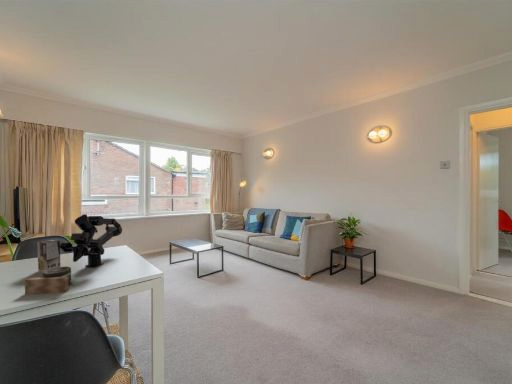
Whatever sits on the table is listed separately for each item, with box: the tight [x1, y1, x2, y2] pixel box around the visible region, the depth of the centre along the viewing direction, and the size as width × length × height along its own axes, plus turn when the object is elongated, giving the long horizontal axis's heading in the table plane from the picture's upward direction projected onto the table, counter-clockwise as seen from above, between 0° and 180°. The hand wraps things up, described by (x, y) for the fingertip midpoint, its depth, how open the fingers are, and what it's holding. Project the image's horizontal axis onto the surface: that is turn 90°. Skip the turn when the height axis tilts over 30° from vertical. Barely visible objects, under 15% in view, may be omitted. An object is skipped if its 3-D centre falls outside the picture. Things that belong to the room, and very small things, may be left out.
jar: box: [42, 266, 72, 285], centre depth 108 cm, size 10×10×8 cm
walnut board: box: [24, 276, 70, 295], centre depth 102 cm, size 16×2×6 cm, turn 95°
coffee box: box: [37, 239, 61, 273], centre depth 128 cm, size 9×6×16 cm
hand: (74, 261), depth 119 cm, fingers closed
